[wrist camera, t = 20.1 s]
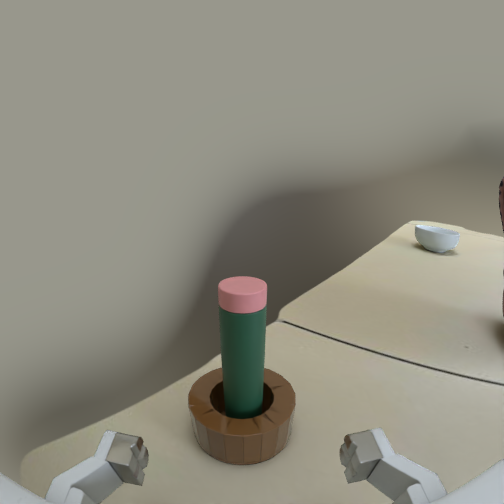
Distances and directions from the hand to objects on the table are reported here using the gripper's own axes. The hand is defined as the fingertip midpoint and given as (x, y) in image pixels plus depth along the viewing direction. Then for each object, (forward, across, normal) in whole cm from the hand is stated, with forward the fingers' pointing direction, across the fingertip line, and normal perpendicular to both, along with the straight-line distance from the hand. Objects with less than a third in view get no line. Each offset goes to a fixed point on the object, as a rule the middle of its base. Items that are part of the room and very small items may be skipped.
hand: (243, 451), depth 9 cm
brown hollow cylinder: (+9, 0, +9) cm, 13 cm away
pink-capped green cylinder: (+8, 0, +9) cm, 12 cm away
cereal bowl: (+67, -64, +9) cm, 93 cm away
